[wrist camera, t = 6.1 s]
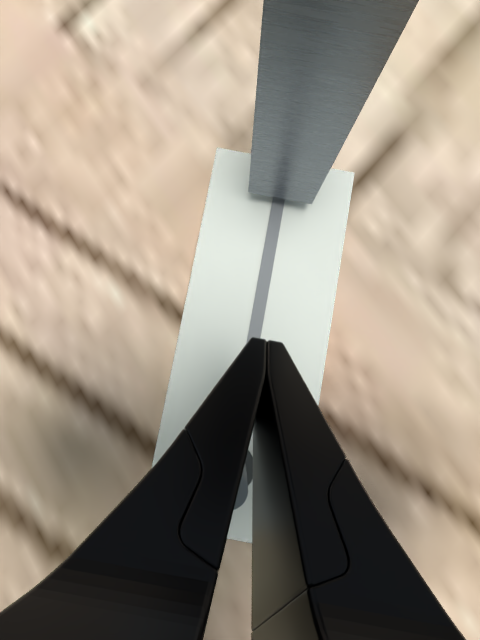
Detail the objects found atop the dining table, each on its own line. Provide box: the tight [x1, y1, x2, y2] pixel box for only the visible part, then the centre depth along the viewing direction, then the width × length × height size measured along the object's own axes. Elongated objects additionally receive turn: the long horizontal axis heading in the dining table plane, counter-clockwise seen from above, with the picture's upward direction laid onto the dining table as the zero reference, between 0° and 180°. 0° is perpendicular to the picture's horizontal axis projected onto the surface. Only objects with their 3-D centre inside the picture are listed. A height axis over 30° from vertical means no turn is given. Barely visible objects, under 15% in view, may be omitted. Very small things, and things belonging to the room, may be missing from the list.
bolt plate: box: [151, 148, 354, 543], centre depth 14 cm, size 18×7×4 cm, turn 170°
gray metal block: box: [248, 0, 419, 204], centre depth 10 cm, size 3×3×11 cm
